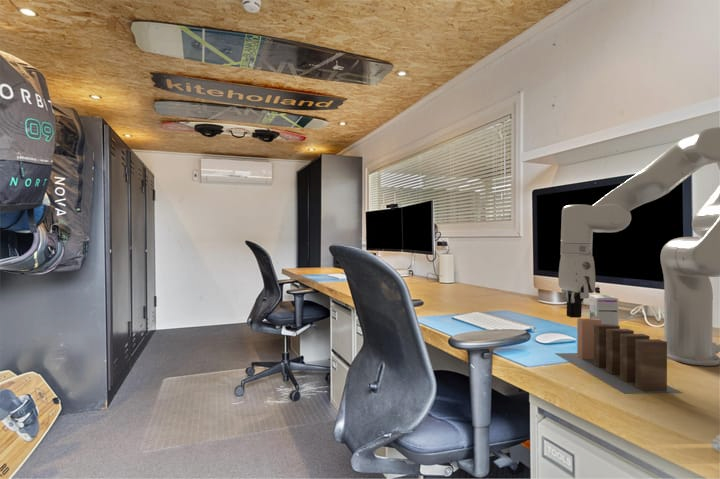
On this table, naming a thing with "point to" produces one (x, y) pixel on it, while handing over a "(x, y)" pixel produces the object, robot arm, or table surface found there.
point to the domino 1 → (586, 337)
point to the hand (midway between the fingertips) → (573, 316)
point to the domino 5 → (651, 365)
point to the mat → (608, 375)
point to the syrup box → (604, 309)
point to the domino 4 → (629, 355)
